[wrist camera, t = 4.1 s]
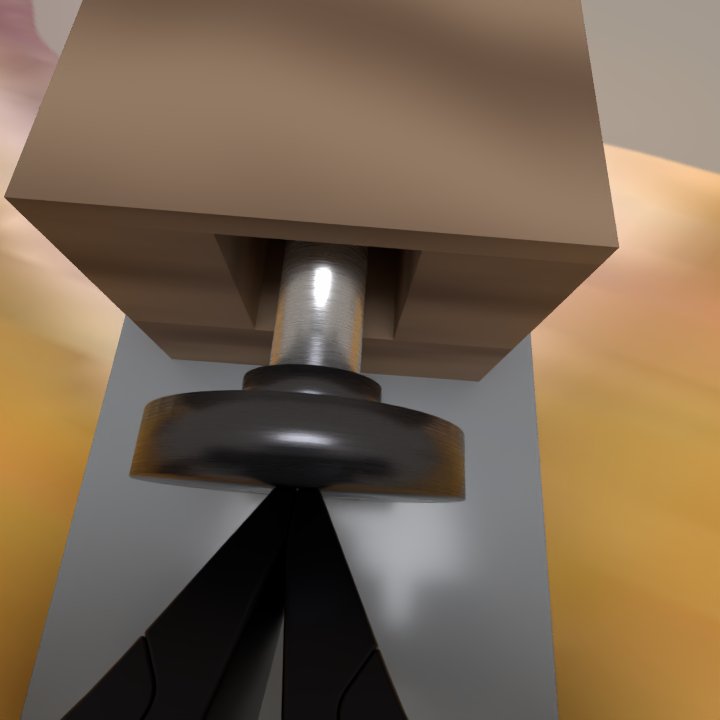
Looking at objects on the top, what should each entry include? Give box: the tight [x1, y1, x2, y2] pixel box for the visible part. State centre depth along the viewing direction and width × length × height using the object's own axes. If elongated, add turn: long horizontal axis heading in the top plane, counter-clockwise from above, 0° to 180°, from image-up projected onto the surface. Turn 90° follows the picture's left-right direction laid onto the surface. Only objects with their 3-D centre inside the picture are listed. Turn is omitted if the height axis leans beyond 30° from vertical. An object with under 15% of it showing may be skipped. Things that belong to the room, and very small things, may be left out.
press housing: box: [4, 0, 619, 382], centre depth 14 cm, size 10×11×8 cm
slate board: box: [20, 315, 559, 720], centre depth 16 cm, size 23×15×1 cm, turn 176°
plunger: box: [129, 240, 466, 503], centre depth 11 cm, size 11×6×6 cm, turn 176°
